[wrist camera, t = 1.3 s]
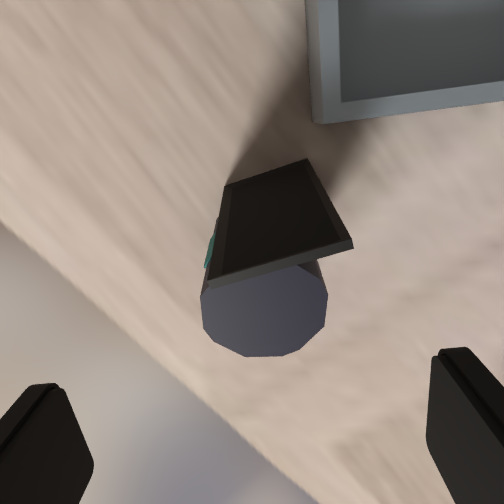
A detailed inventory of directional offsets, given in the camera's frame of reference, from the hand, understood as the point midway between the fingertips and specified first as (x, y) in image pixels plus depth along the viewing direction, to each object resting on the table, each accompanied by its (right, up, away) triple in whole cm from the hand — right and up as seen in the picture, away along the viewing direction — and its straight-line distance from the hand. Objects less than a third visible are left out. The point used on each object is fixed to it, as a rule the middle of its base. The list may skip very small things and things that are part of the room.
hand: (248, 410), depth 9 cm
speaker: (+1, +6, +14) cm, 15 cm away
